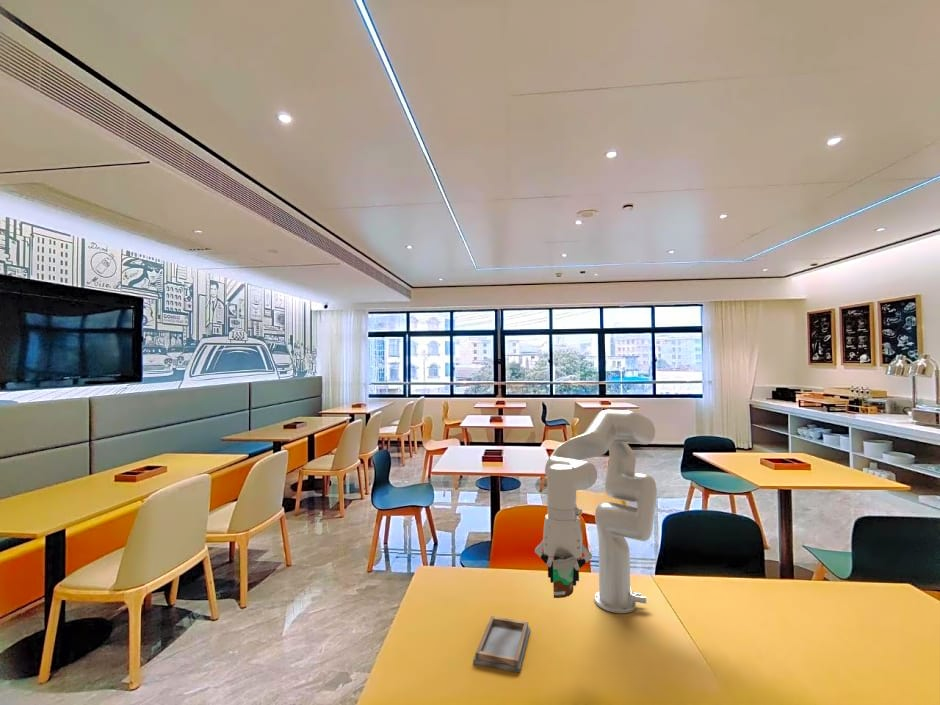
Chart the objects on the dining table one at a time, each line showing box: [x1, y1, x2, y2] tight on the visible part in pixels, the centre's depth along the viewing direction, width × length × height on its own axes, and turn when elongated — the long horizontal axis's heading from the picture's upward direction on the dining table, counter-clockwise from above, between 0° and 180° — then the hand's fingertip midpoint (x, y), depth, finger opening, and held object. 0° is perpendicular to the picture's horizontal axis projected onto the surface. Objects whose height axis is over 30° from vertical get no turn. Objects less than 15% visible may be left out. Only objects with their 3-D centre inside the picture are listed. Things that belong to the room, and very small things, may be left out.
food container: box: [552, 556, 577, 599], centre depth 113 cm, size 12×6×10 cm, turn 168°
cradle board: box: [472, 615, 531, 674], centre depth 116 cm, size 12×18×2 cm, turn 164°
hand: (563, 581), depth 113 cm, fingers closed on food container, 5 cm apart
